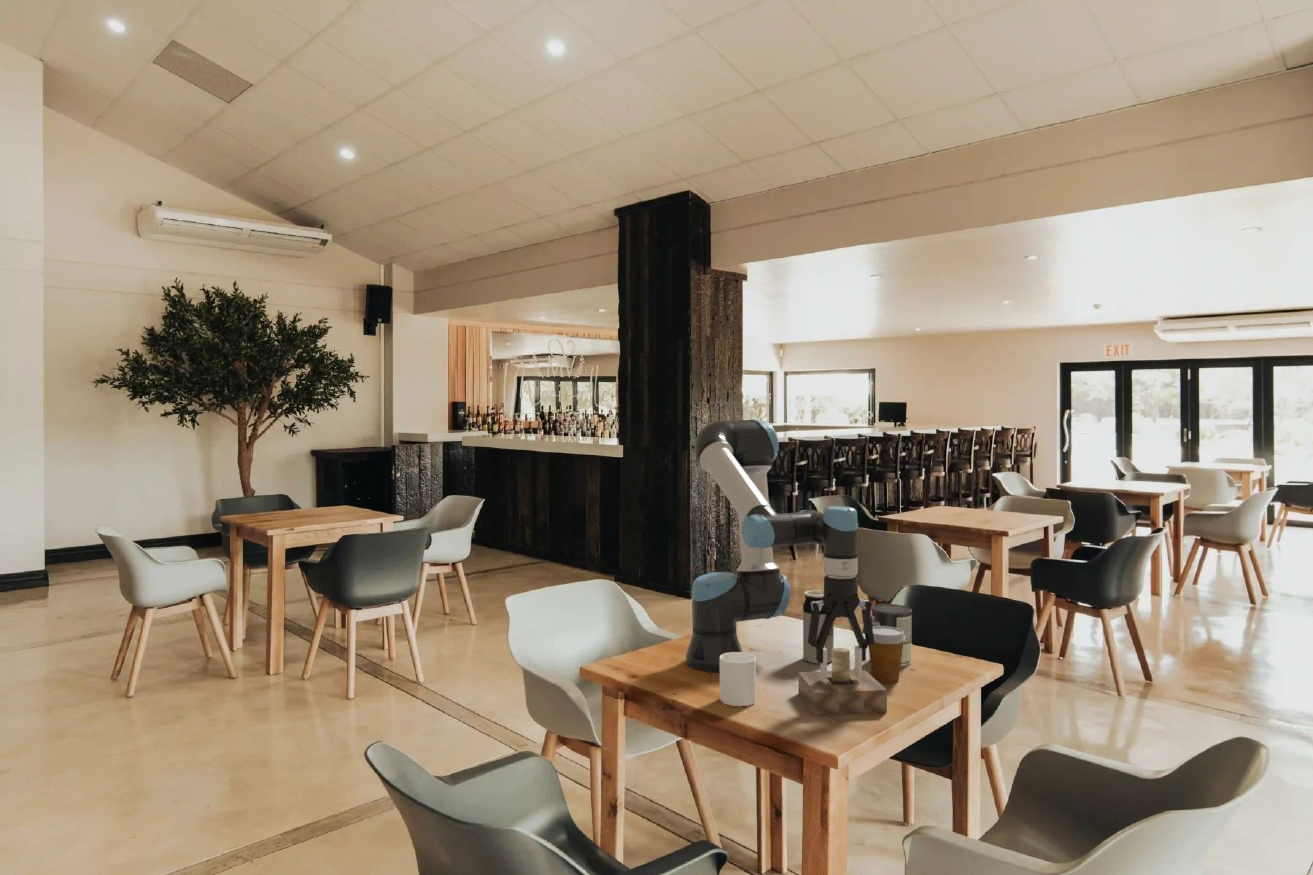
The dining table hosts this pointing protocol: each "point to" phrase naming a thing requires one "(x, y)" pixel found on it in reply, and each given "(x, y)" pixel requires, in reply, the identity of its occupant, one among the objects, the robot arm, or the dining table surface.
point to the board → (842, 694)
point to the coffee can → (895, 624)
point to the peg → (840, 666)
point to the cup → (738, 678)
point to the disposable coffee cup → (886, 653)
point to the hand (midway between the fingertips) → (841, 675)
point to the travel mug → (808, 650)
